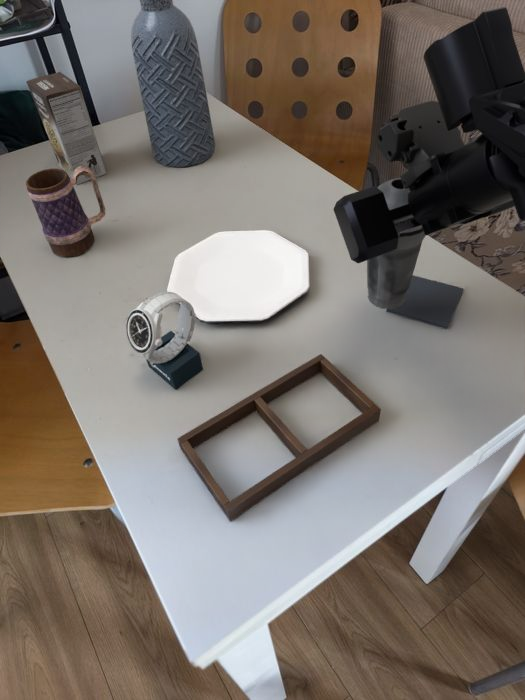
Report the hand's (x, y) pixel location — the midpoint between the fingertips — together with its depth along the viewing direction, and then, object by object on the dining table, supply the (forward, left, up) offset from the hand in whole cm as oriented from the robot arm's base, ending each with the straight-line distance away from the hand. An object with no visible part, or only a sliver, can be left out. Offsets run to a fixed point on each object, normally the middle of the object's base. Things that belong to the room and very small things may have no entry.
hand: (388, 225), depth 58 cm
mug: (+48, +4, -13) cm, 50 cm away
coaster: (-5, -4, -13) cm, 15 cm away
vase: (+49, -27, -13) cm, 58 cm away
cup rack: (+3, +23, -13) cm, 26 cm away
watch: (+19, +20, -13) cm, 30 cm away
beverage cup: (-1, +1, -10) cm, 10 cm away
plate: (+20, +2, -13) cm, 24 cm away
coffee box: (+64, -14, -13) cm, 67 cm away
